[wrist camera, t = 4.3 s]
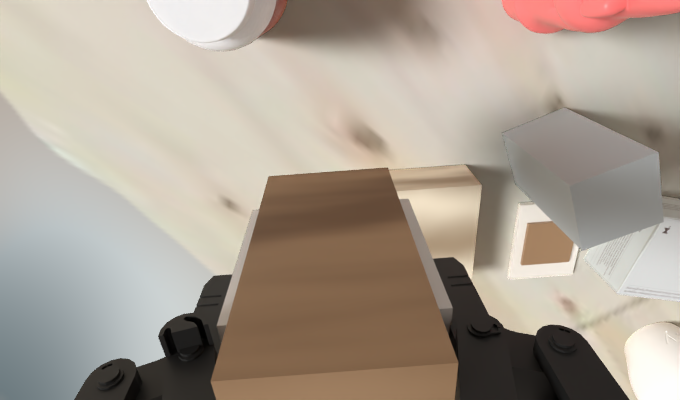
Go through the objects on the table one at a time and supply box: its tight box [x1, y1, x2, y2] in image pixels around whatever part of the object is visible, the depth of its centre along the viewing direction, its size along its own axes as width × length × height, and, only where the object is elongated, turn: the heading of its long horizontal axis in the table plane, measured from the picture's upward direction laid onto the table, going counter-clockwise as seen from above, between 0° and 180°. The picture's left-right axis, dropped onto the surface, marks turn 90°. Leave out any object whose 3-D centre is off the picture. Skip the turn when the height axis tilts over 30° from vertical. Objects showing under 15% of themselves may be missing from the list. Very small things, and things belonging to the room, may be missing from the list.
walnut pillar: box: [211, 168, 458, 400], centre depth 14 cm, size 5×5×10 cm
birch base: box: [389, 165, 482, 281], centre depth 34 cm, size 10×10×4 cm
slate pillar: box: [502, 107, 664, 251], centre depth 29 cm, size 5×5×10 cm
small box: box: [584, 196, 680, 302], centre depth 35 cm, size 8×8×5 cm
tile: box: [507, 202, 579, 280], centre depth 37 cm, size 8×6×1 cm
